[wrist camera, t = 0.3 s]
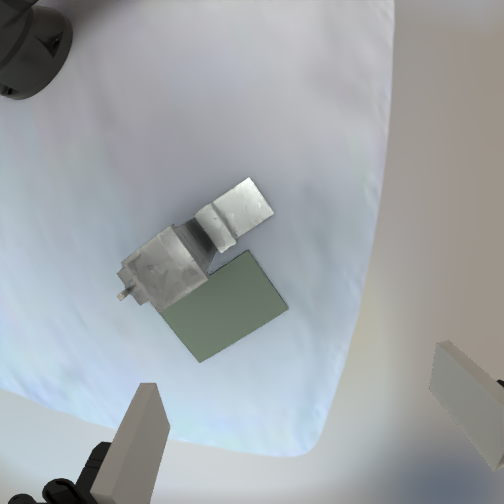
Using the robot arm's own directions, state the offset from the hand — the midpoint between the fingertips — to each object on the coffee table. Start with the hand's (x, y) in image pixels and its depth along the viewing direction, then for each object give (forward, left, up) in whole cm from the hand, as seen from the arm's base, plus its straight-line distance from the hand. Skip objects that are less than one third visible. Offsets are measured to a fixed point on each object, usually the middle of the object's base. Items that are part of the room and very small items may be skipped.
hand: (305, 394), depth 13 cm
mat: (+2, -8, -27) cm, 28 cm away
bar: (-7, -6, -27) cm, 28 cm away
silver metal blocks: (-7, -6, -27) cm, 28 cm away
